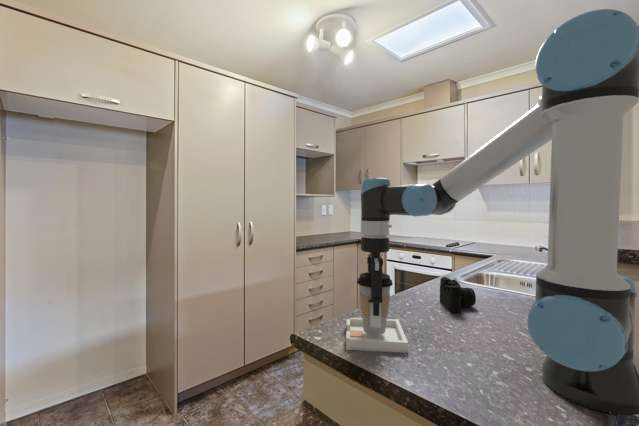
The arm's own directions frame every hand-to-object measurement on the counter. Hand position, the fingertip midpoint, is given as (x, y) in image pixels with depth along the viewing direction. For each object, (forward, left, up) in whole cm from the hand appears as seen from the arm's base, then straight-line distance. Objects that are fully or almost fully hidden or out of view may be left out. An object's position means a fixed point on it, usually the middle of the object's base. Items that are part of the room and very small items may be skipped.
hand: (374, 320), depth 83 cm
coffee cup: (0, 0, -3) cm, 3 cm away
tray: (0, 0, -5) cm, 5 cm away
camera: (+28, -31, -5) cm, 42 cm away
